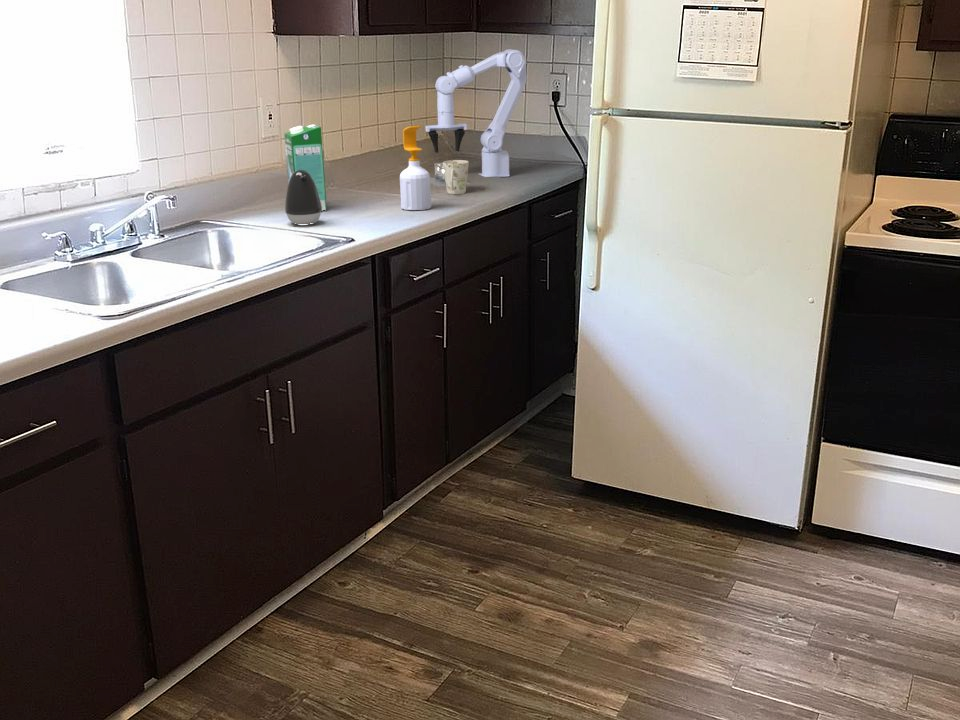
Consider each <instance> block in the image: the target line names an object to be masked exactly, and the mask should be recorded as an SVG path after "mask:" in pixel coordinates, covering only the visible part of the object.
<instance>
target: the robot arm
mask: <svg viewBox="0 0 960 720" xmlns="http://www.w3.org/2000/svg"><path fill="white" fill-rule="evenodd" d="M494 67H500V68H501V67H502V68H503V67H504V69H506V71H507V72H508V75H509V77H510V81H509V84H508V87H507V89H506V91H505V92H504V95H503V96H502V97H503V98H502V99H501V102H500V104H499V106H498V109H497V111H496V113H495V115H494V118H493V120H492V122H490V124H489V125H488V126H487V128H486V130H485V131H483V133H481V135H480V143H481V145H482V149H481V173H479V176H482V177H484V178H489V177H493V178H494V177H499V178H504V177H505V178H506V177H510V155H509V152H508V150H506V149H505V150H503V149H502V147H503V143H504V137H505V133H506V128H507V127H506V126H507V124H508V122H509V121H510V118H511V116H512V114H513V111H514V109H515V108H516V105H517V103H518V101H519V99H520V96H521V94H522V92H523V90H524V88H525V85H526V83H527V80H528V78H527V75H528V74H527V60H526V58H525V56H524V53H522V52H521V51H520V50H519V49H512V48H511V49H510V48H508V49H505V50H504V51H500V52H497V53H494V54H493V55H491V56H489V57H487V58H485V59H483V60H481V61H480V62H478V63H476V64H474V65H472V66H468V65H463V64H460V66H459V65H458V68H457V69H455V70H453V71H448V72H446V75H441V76H439V77H438V78H437V79H436V81H435V85H434V86H435V90H436V91H437V93H436V95H437V97H436V98H437V99H436V103H437V104H436V105H437V107H436V109H437V124H433V125H432V124H431V125H425V132H427V134H428V136H429V138H430V140H431V143H432V145H433V150H434V153H436V154H437V153H439V133H438V132H443V131H445V132H447V131H453V132H454V138H455V139H454V140H455V143H454V144H455V147H454V148H455V152H460V147H461V143H462V140H463V138H464V136H465V133H466V130H468V125H467V123H455V102H454V101H455V99H454V91H455V90H456V89H460V88H461V87H463V86H465V85H467V84H469V83H472V82H473V81H474V79H475V76H477V75H479V74H481V73H484V72H486V71H487V70H488V71H489V70H490V69H492V68H494Z"/></svg>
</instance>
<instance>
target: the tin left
mask: <svg viewBox="0 0 960 720" xmlns="http://www.w3.org/2000/svg"><path fill="white" fill-rule="evenodd" d="M433 164H434V165H433V166H434V178H435V179H439V166H440V165H443V162H434V163H433Z"/></svg>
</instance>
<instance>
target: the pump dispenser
mask: <svg viewBox="0 0 960 720" xmlns="http://www.w3.org/2000/svg"><path fill="white" fill-rule="evenodd" d="M285 193H286V194H285V203H284V211H285V214H286V217H287V219H288V220H289V221H290V222H291V224H293V223H296V224H310V223H314V224H315V222H316V223H317V222H318V221H319V219H320V217H321V214H322V212H321V211H322V206H321V201H320V197H319V194H318V191H317V188H316V185H315V183H314V180H313V179H312V177H311V175H310V174H309V173H308V172H307V171H304V170H297V171H295V172H294V173H293V174H292V176H291V178H290V180H289V182H288V183H287V188H286V192H285Z"/></svg>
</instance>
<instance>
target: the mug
mask: <svg viewBox="0 0 960 720" xmlns="http://www.w3.org/2000/svg"><path fill="white" fill-rule="evenodd" d="M442 163H443V168H444V174H445V181H446V186H445V188H446V192H447V194H449V195H462V194H465V193H466V191H467V185H468V184H467V182H468V173H469V165H470V163H469V161H468V160H463V159H451V160H444V161H443V162H442Z"/></svg>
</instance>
